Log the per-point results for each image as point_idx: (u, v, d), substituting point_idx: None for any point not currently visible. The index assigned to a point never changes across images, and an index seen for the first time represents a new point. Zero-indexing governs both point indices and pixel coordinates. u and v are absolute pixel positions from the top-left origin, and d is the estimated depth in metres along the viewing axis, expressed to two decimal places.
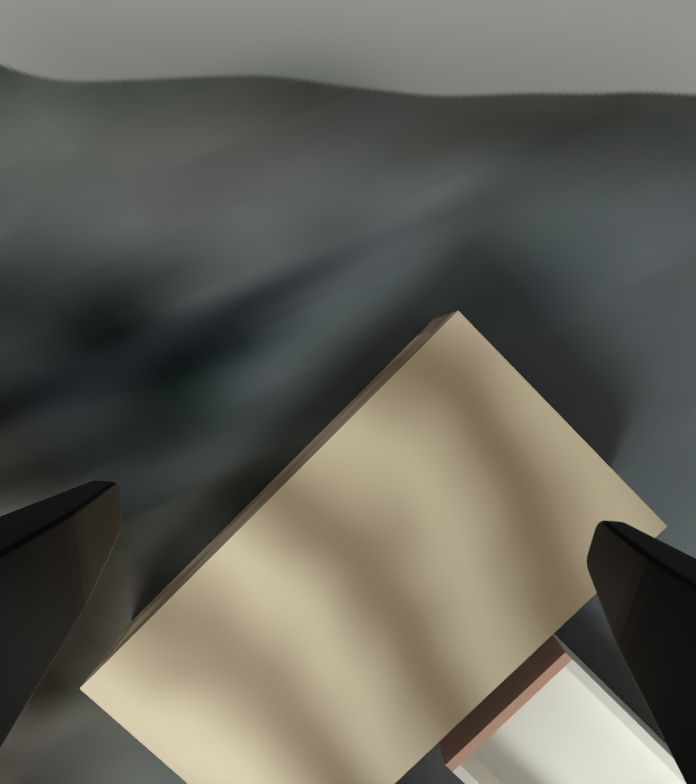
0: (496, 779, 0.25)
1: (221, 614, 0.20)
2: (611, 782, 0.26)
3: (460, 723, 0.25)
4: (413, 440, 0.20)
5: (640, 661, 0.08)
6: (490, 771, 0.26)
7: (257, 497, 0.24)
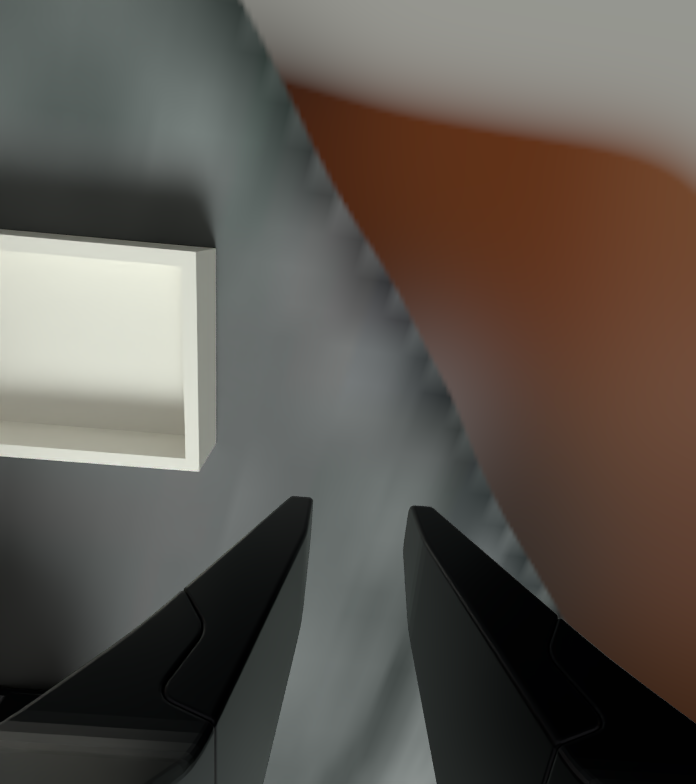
0: None
1: None
2: (22, 326, 0.19)
3: None
4: None
5: (417, 645, 0.08)
6: None
7: None
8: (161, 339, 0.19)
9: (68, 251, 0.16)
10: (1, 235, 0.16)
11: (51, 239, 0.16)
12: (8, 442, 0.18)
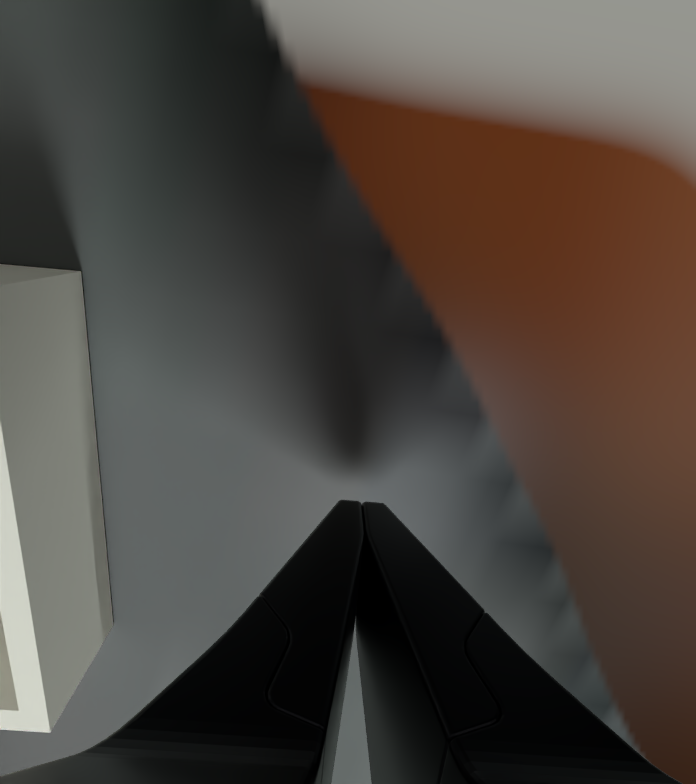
0: None
1: None
2: None
3: None
4: None
5: (360, 641, 0.07)
6: None
7: None
8: None
9: None
10: None
11: None
12: None
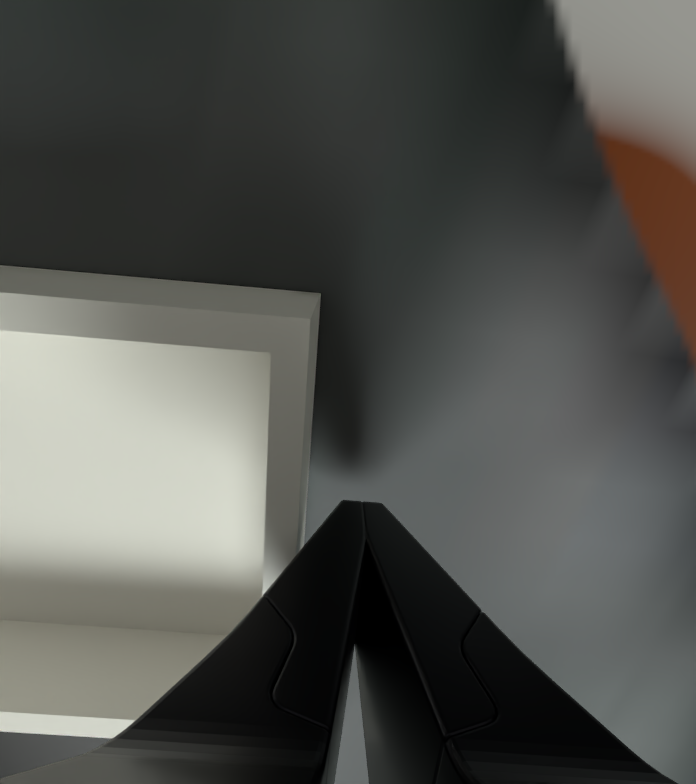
0: None
1: None
2: None
3: None
4: None
5: (358, 641, 0.07)
6: None
7: None
8: (204, 473, 0.09)
9: None
10: None
11: None
12: None
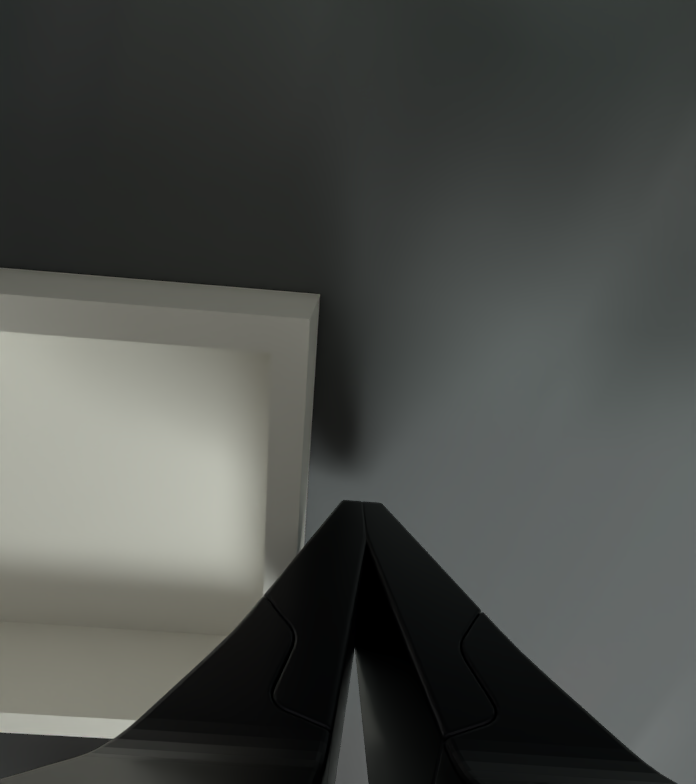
0: None
1: None
2: None
3: None
4: None
5: (357, 641, 0.07)
6: None
7: None
8: (205, 473, 0.09)
9: None
10: None
11: None
12: None
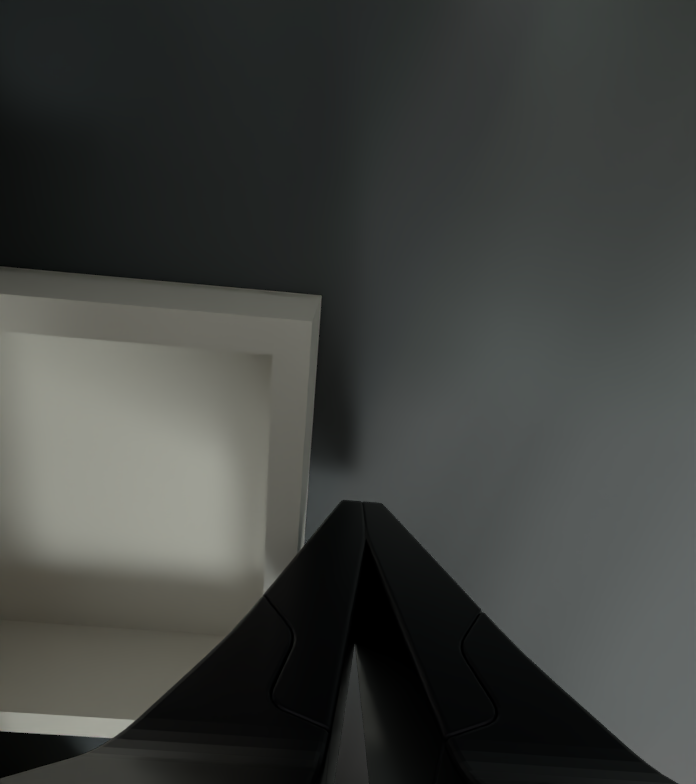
0: None
1: None
2: None
3: None
4: None
5: (358, 641, 0.07)
6: None
7: None
8: (205, 474, 0.09)
9: None
10: None
11: None
12: None
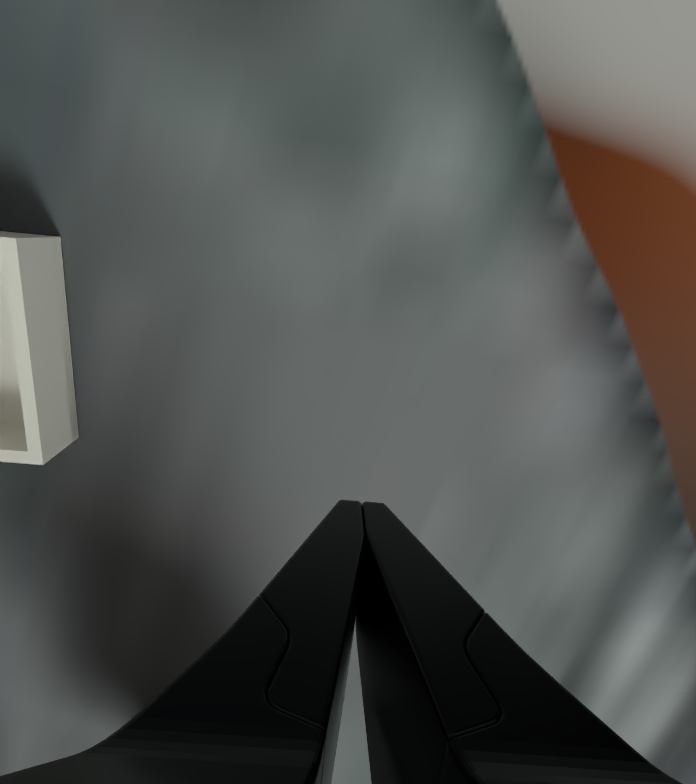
0: None
1: None
2: None
3: None
4: None
5: (360, 641, 0.07)
6: None
7: None
8: (8, 330, 0.18)
9: None
10: None
11: None
12: None
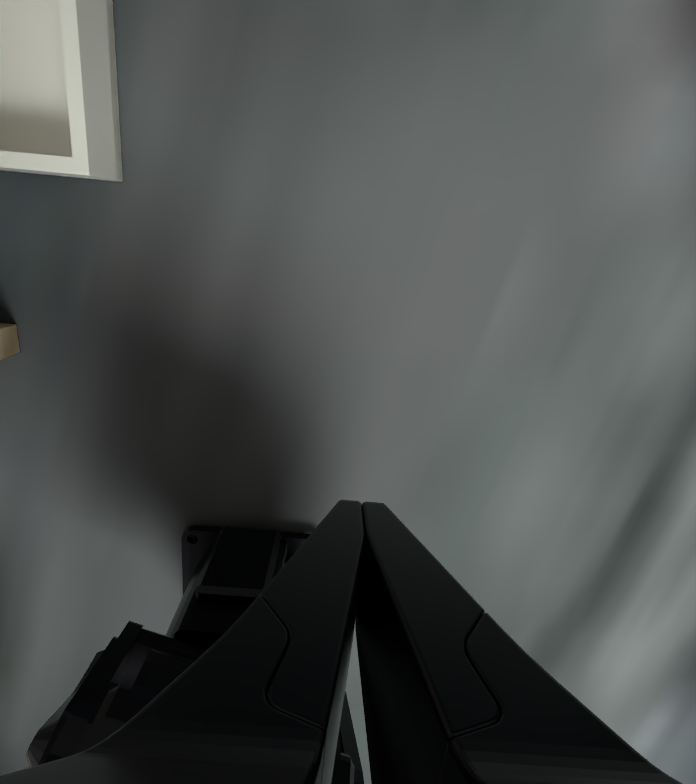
0: None
1: None
2: None
3: None
4: None
5: (360, 641, 0.07)
6: None
7: None
8: (48, 31, 0.16)
9: None
10: None
11: None
12: None
